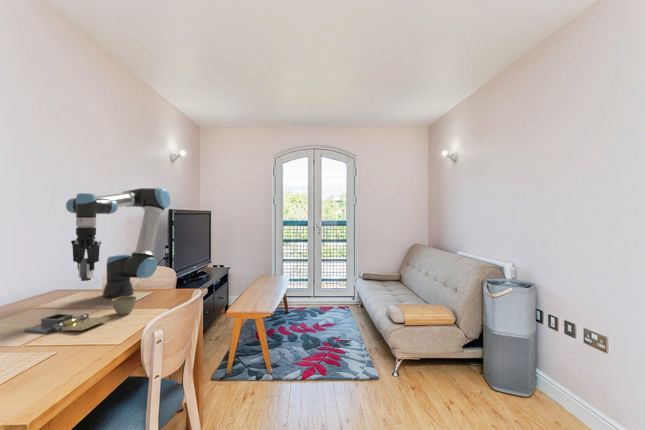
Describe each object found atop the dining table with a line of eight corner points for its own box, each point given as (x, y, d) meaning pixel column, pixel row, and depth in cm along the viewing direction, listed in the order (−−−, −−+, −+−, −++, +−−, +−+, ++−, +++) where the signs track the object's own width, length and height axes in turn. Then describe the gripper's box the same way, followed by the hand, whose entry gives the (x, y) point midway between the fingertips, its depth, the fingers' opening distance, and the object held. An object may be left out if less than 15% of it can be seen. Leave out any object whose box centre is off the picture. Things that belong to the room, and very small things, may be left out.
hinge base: (66, 317, 146) (66, 309, 146) (92, 319, 144) (92, 311, 144) (24, 331, 128) (24, 323, 128) (53, 334, 127) (54, 325, 127)
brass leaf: (82, 320, 142) (81, 314, 142) (108, 319, 141) (108, 313, 141) (53, 331, 129) (53, 324, 129) (83, 330, 128) (82, 323, 128)
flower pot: (140, 310, 158) (141, 296, 158) (126, 317, 148) (126, 301, 148) (121, 309, 159) (122, 295, 159) (106, 316, 149) (106, 300, 149)
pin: (85, 279, 151) (85, 257, 151) (92, 279, 151) (92, 258, 151) (78, 280, 148) (79, 259, 148) (86, 281, 148) (86, 259, 147)
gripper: (62, 226, 147) (62, 278, 147) (95, 227, 144) (95, 279, 145) (77, 226, 154) (77, 274, 154) (108, 226, 152) (108, 276, 152)
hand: (85, 277), depth 149 cm, fingers closed on pin, 3 cm apart
